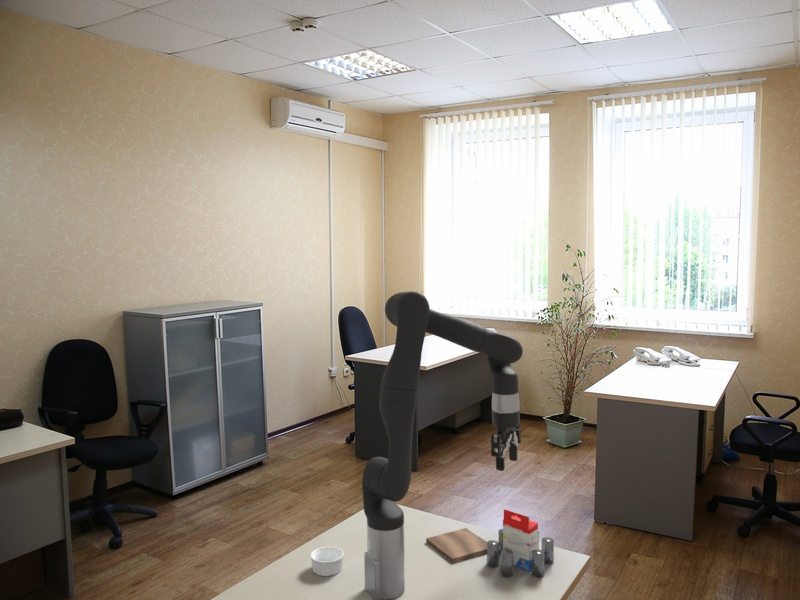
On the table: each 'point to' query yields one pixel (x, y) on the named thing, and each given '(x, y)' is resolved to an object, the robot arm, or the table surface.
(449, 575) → the table surface
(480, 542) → the walnut board
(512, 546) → the ink box
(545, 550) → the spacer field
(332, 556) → the ramekin
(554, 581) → the table surface
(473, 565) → the table surface
